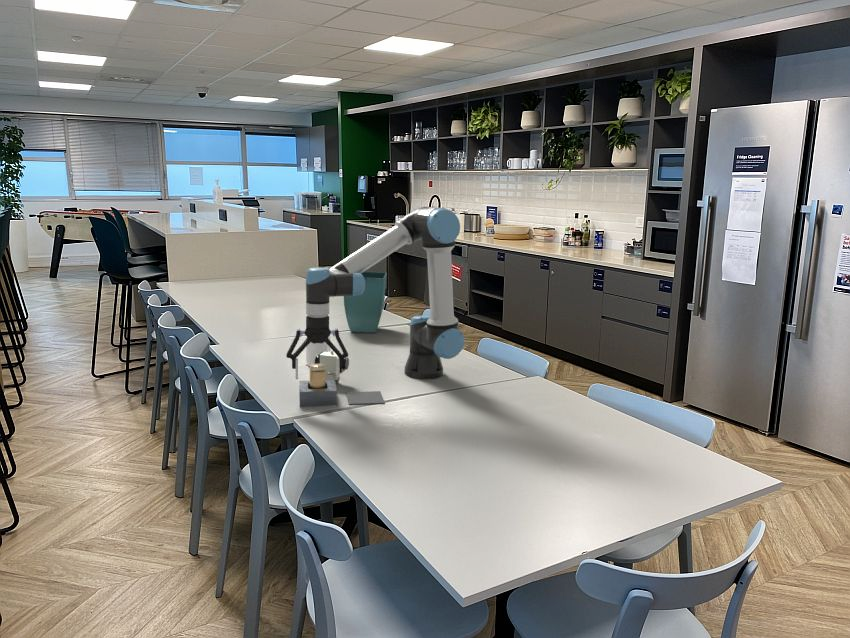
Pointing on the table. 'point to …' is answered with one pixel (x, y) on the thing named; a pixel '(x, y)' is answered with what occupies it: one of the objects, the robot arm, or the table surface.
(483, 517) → the table surface
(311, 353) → the white squeeze bottle
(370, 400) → the mat
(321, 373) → the tan cylinder
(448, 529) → the table surface
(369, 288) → the flower pot
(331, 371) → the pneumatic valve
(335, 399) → the block
